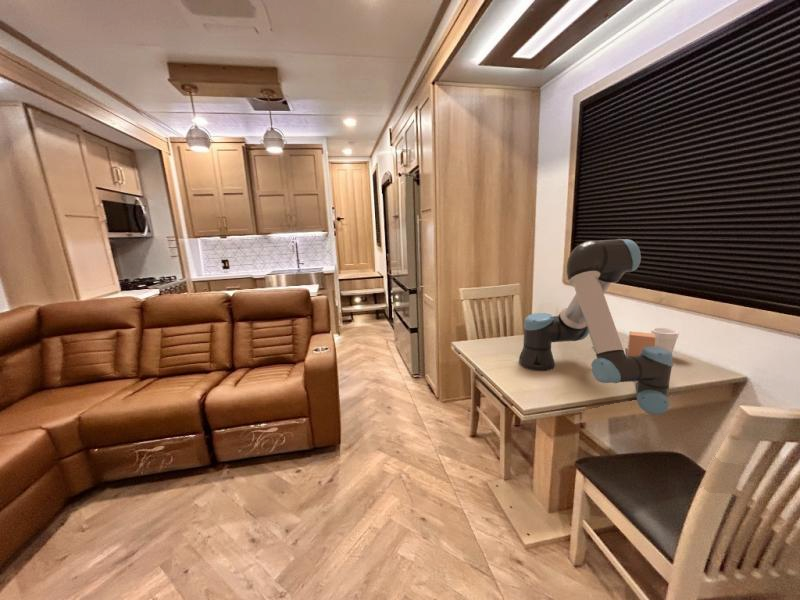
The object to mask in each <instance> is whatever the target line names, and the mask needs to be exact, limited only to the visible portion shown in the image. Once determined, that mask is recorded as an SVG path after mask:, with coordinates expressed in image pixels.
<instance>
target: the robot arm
mask: <svg viewBox="0 0 800 600" xmlns="http://www.w3.org/2000/svg"><path fill="white" fill-rule="evenodd" d="M641 261H642V256H641V250H640V247H639V245H638V244H637V243H636V242H635V241H633V240H632V239H627V238H625V239H622V238H617V239H604V240H602V239H600V240H587V241H584V242H581V243H580V244H578V245H577V246H575V248H574V249H572V251H571V252H570V254H569V256H568V259H567V262H566V276H567V279H568V282H569V284H571V285H573V287H574V291H575V295H574V296H573V298H572V300H571V301H570V303H569V305H568V306H567V307H564V308H563V309H561V311H560V312H559V314H558V315H555V316H553V314H551V313H547V312H543V313H542V312H537V313H536V312H535V313H532V314H528V315H527V316H526V317H525V318H524V322H523V324H524V325H523V347H522V350H521V353H520V355H519V358H518V364H519V365H520V366H521V367H523V368H525V369H527V368H528V370H530V371H531V370H532V371H538V372H541V371H542V372H544V371H551V370H552V369H554V368H555V364H556V363H555V359H554V356H553V351H552V344H553V343H561V342H578V341H581V340H585V339H586V338H587V337H588V335H589V337H590V340H591V343H592V345H593V351H594V350H595V351H594V353H595V355H596V358H595V359H593V360H592V362H591V366H590V367H591V373H592V375H593V377H594V379H595V380H596V381H598V382H600V383H602V384H609V383H610V384H618V383H627V382H634V387H635V393H636V401H637V404H638V405H639V407H640V409H641V410H642V411H644V412H645V413H647V414H650V415H654V416H655V415H662V414H664V413H666V412H667V411H668V409H669V407H670V405H669V404H670V400H669V398H668V397H669V389H670V379H671V373H672V367H673V359H674V358H673V352H672V353H671V352H670V351H668V350H666V349H664V348H660V347H654V346H647V347H644V348H643V349H642V351H641V355H637V356H626V355H625V353H624V350H623V349H624V347H623V343H622V342H621V339H620V336H619V333H618V330H617V327H616V324H615V321H614V319H613V316H612V313H611V310H610V308H609V305H608V302H607V299H606V297H605V294H606V292H607V291H608V289H609V288H610V286H611V284H615V283H618V282H619V281H620V280H621V278H622V277H623V276H624V274H625V273H631V272H634V271H636V270H637V269H638V268H639V266H640V264H641Z"/></svg>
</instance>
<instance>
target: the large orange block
mask: <svg viewBox="0 0 800 600" xmlns="http://www.w3.org/2000/svg"><path fill="white" fill-rule="evenodd" d="M655 338H656V337H655V335H654V334H651V332H640V331H631V330H630V331H629V333H628V341H627V348H628V351H627V356H637V355H641V351H642V349H643V348H644V347H647V346H655Z"/></svg>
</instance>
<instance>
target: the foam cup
mask: <svg viewBox="0 0 800 600" xmlns="http://www.w3.org/2000/svg"><path fill="white" fill-rule="evenodd" d="M650 331H651V332H650V333H651V334H654V335H655V337H656V338H655V346H654V347H660V348H664V349H666V350H668V351H670V352H671V353H672V354H673V352H674V349H675V346H676V343H677V339H678V338H679V331H677V330H676V329H673V328H666V327H652V328H651V330H650Z"/></svg>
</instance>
